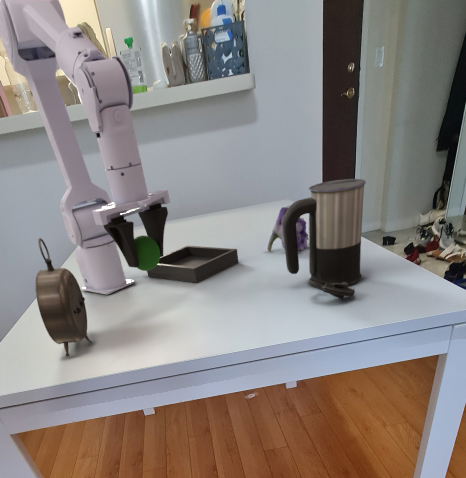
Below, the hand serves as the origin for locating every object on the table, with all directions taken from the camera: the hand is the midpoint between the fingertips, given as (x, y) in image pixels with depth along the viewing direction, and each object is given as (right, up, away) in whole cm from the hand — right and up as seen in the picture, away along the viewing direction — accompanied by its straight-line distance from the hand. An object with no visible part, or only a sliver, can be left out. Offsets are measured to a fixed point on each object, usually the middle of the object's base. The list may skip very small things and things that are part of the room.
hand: (146, 261), depth 79 cm
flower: (+28, +14, +23) cm, 39 cm away
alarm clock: (-11, -16, -2) cm, 19 cm away
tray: (+6, +10, +22) cm, 25 cm away
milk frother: (+33, -4, +1) cm, 34 cm away
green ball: (0, +1, -1) cm, 1 cm away
